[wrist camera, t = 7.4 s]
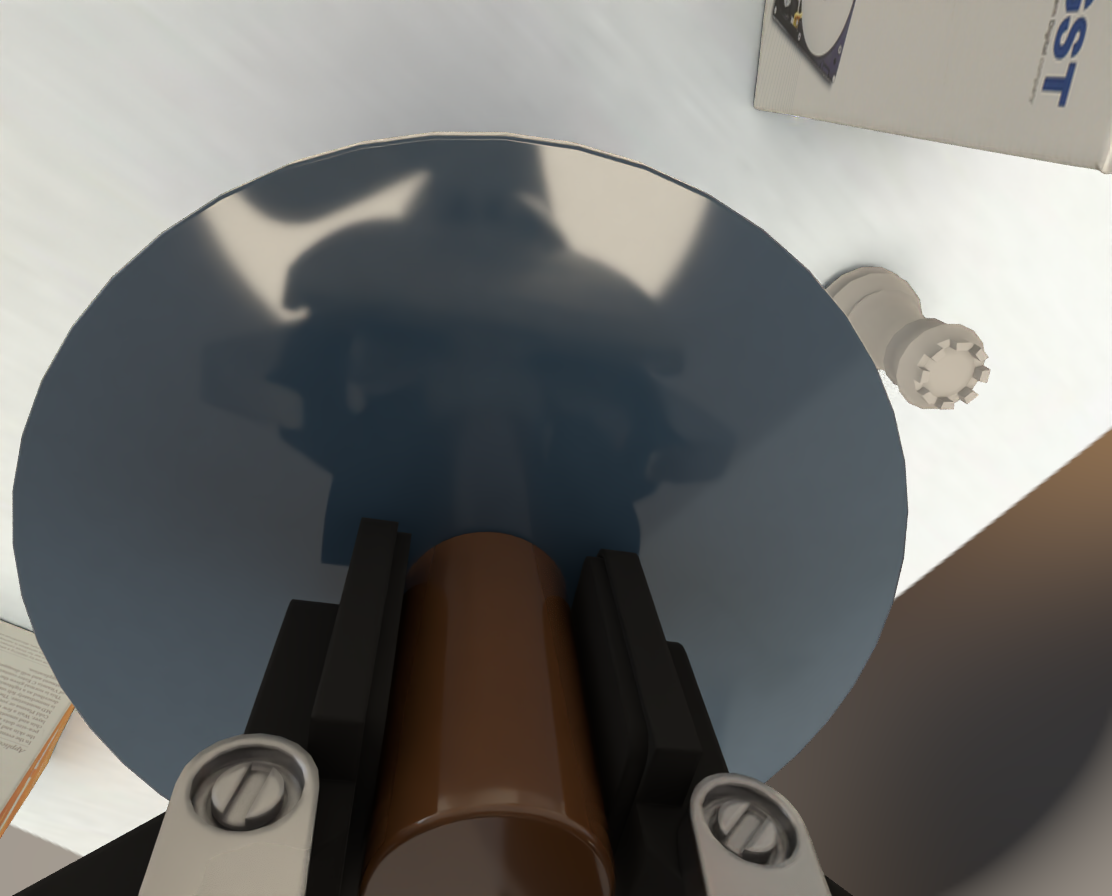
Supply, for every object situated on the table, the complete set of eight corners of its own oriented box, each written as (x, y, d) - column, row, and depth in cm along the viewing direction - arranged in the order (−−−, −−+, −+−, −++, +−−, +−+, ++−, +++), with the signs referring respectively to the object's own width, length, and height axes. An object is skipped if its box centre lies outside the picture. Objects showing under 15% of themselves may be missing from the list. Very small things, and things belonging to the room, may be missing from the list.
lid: (21, 17, 10) (-615, -52, 4) (1010, 235, 12) (1482, 382, 6) (70, 810, 15) (-166, 1244, 10) (738, 854, 17) (861, 1224, 12)
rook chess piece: (920, 327, 35) (1033, 392, 28) (831, 380, 36) (919, 456, 29) (884, 243, 34) (994, 288, 26) (791, 300, 34) (873, 360, 27)
